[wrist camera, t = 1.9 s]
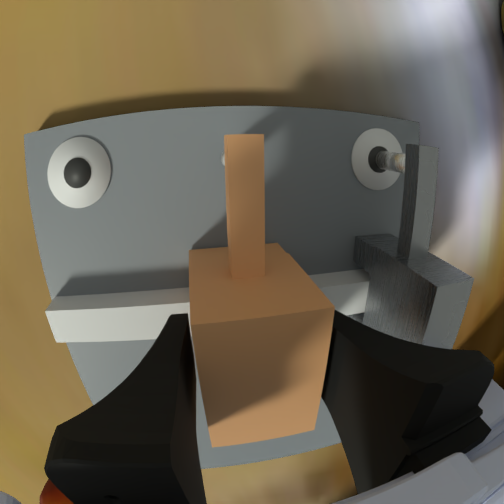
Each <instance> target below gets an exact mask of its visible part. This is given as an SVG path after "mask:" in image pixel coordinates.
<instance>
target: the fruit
mask: <svg viewBox="0 0 504 504" xmlns="http://www.w3.org/2000/svg"><path fill="white" fill-rule="evenodd" d="M40 504H74V503H73V502H71V501H70V500H69V499H68V498H67V497H66V496H65V495H64V494H63V493H62V492H61V491H60V490H59V489H58V488H57V487H56V486H55V485H54V484H53V483H52V482H51V481H50V479H48V481H47V483H46V484H45V486H44V488H43V491H42V493H41V495H40Z"/></svg>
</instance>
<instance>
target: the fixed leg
mask: <svg viewBox="0 0 504 504" xmlns="http://www.w3.org/2000/svg"><path fill="white" fill-rule="evenodd" d="M438 149H439V148H436V147H430V146H423V145H416V144H406V151H405V154H403V153H395V152H387V151H380V152H379V153H378V154H377V155H376V164H377V166H378V167H379V168H380V169H384V170H389V171H394V172H398V173H403V174H404V189H403V202H402V212H401V222H400V230H399V238H398V237H396V236H394V235H392V234H376V235H362V236H355V245H354V256H353V261H354V262H355V263H356V264H358V265H359V266H360V267H362V268H363V269H364V270H365V271H367V272H368V273H369V274H370V280H369V287H368V293H367V300H366V306H365V311H364V312H362V313H357V314H352V315H346V316H348V317H350V318H352V319H354V320H356V321H358V322H360V323H362V324H364V325H366V326H368V327H371V328H373V329H375V330H377V331H380V332H382V333H385V334H388V335H390V336H393V337H396V338H399V339H402V340H406V341H409V342H413V343H418V344H422V345H426V346H432V347H438V348H445V349H452V347H453V344H454V342H455V339H456V336H457V333H458V330H459V328H460V325H461V322H462V318H463V315H464V312H465V309H466V306H467V302H468V299H469V295H470V292H471V288H472V284H473V281H474V278H472V277H471V276H469V275H467V274H466V273H464V272H462V271H461V270H459V269H457V268H456V267H454V266H452V265H450V264H449V263H447V262H445V261H444V260H442V259H440V258H438V257H437V256H435V255H433V254H431V253H429V252H428V249H429V242H430V236H431V229H432V222H433V214H434V205H435V195H436V184H437V170H438Z"/></svg>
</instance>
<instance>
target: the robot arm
mask: <svg viewBox="0 0 504 504" xmlns="http://www.w3.org/2000/svg"><path fill="white" fill-rule="evenodd" d="M493 374H494V364H493V363H492V362H491V361H490V360H489V359H488V358H487V357H485V356H484V355H483V354H482V353H481V352H480V351H475V350H453V349H445V348H438V347H432V346H426V345H422V344H418V343H413V342H409V341H406V340H402V339H399V338H396V337H393V336H390V335H388V334H385V333H382V332H380V331H377V330H375V329H373V328H371V327H368V326H366V325H364V324H362V323H360V322H358V321H356V320H354V319H352V318H350V317H348V316H346V315H344V314H342V313H341V312H339V311H337V310H335V311H334V319H333V326H332V333H331V340H330V347H329V353H328V360H327V366H326V372H325V378H324V383H323V389H322V394H321V397H322V399H323V401H324V403H325V405H326V406H327V408H328V410H329V412H330V414H331V417H332V419H333V422H334V424H335V427H336V429H337V432H338V434H339V437H340V439H341V442H342V445H343V448H344V450H345V453H346V456H347V459H348V462H349V465H350V468H351V471H352V474H353V478H354V481H355V485H356V488H357V492H358V495H355V496H352V497H350V498H347V499H344V500H341V501H338V502H335V503H331V504H504V390H503V389H502V388H501V387H500V386H499V385H498V384H497V383H496V382H495V381H494V380H493V379H492V378H493ZM196 384H197V379H196V369H195V359H194V352H193V345H192V339H191V332H190V325H189V318H188V313H182V314H171V315H170V316H169V317H168V320H167V322H166V323H165V325H164V327H163V329H162V331H161V332H160V334H159V336H158V337H157V339H156V340H155V342H154V344H153V345H152V347H151V348H150V350H149V351H148V352H147V354H146V355H145V356H144V358H143V359H142V360H141V362H140V363H139V364H138V365H137V367H136V368H135V369H134V370H133V371H132V372H131V373H130V375H129V376H128V377H127V378H126V379H125V380H124V381H123V382H122V383H121V384H119V385H118V386H117V387H116V388H115V389H114V390H113V391H111V392H110V393H109V394H108V395H107V396H105V397H104V398H103V399H101V400H100V401H99V402H97V403H96V404H95V405H93V406H92V407H90V408H89V409H87V410H86V411H84V412H82V413H81V414H79V415H77V416H75V417H73V418H72V419H70V420H68V421H66V422H64V423H62V424H60V425H58V426H57V427H56V430H55V432H54V435H53V437H52V440H51V444H50V448H49V451H48V455H47V459H46V463H45V467H44V469H45V473H46V475H47V477H48V478H49V479H50V481H51V482H52V483H53V484H54V485H55V486H56V487H57V488H58V489H59V490H60V491H61V492H62V493H63V494H64V495H65V496H66V497H67V498H68V499H69V500H70V501H71V502H73V503H74V504H207V503H206V497H205V491H204V486H203V479H202V473H201V466H200V459H199V452H198V444H197V433H196ZM0 504H21V503H20V502H19V501H18V500H17V499H15V498H14V497H12V496H10V495H9V494H6V493H4V492H2V491H0Z"/></svg>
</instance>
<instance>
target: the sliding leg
mask: <svg viewBox="0 0 504 504" xmlns="http://www.w3.org/2000/svg"><path fill="white" fill-rule="evenodd" d="M221 161H222V164H223V165H224V166H225V185H226V213H227V237H228V247H219V248H206V249H195V250H189V299H190V325H191V332H192V339H193V346H194V352H195V359H196V365H197V371H198V377H199V383H200V388H201V394H202V399H203V405H204V410H205V415H206V420H207V425H208V430H209V435H210V440H211V444H212V447H222V446H230V445H238V444H245V443H251V442H258V441H264V440H269V439H275V438H280V437H285V436H290V435H294V434H299V433H303V432H308V431H312V430H314V429H315V424H316V419H317V415H318V410H319V405H320V399H321V394H322V389H323V383H324V378H325V372H326V366H327V360H328V353H329V347H330V340H331V333H332V326H333V319H334V311H335V306H334V305H333V304H332V303H331V302H330V300H329V299H328V298H327V297H326V296H325V295H324V293H323V292H322V291H321V290H320V289H319V288H318V286H317V285H316V284H315V283H314V282H313V281H312V279H311V278H310V277H309V276H308V275H307V274H306V272H305V271H304V270H303V269H302V268H301V267H300V265H299V264H298V263H297V262H296V261H295V260H294V259H293V257H292V256H291V255H290V254H289V253H286V252H285V251H284V250H283V248H282V247H281V246H280V245H279V244H278V243H268V244H265V180H264V134H231V135H224V151H223V153H222V155H221Z"/></svg>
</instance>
